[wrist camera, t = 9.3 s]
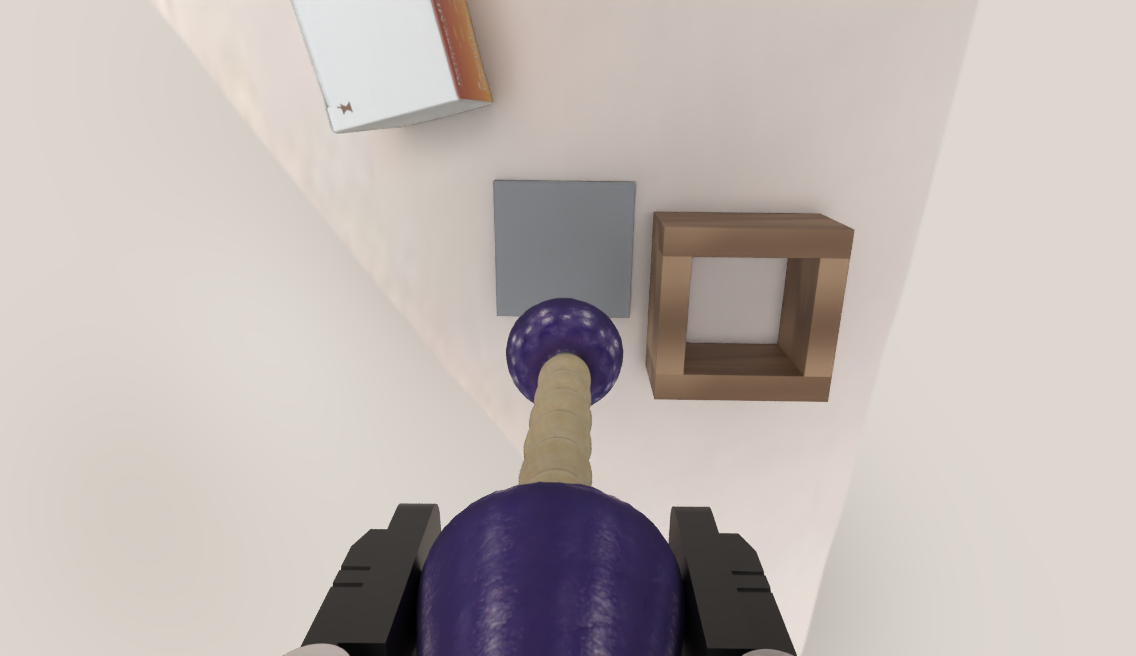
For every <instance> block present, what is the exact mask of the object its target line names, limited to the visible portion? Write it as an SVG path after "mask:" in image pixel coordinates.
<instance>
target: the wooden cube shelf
mask: <svg viewBox="0 0 1136 656" xmlns="http://www.w3.org/2000/svg"><path fill="white" fill-rule="evenodd" d="M853 236H854V229H852V228H850V227H848V226H845V225H843V224H841V223H839V222H837V221H834V220H832V219H830V218H828V217H826V216H824V215H821V214H803V213H720V212H654V216H653V235H652V254H651V273H650V291H649V310H648V329H647V348H646V368H647V372H648V376H649V380H650V384H651V388H652V391H653V395H654V399H676V400H743V401H810V402H828V397H829V391H830V384H831V378H832V371H833V365H834V358H835V352H836V346H837V339H838V333H839V326H840V320H841V313H842V307H843V300H844V294H845V288H846V281H847V275H848V268H849V262H850V255H851V249H852V242H853ZM692 257H754V258H788V264H787V272H786V280H785V288H784V297H783V305H782V313H781V321H780V329H779V337H778V344H716V343H686V332H687V319H688V305H689V291H690V278H691V264H692Z"/></svg>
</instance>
